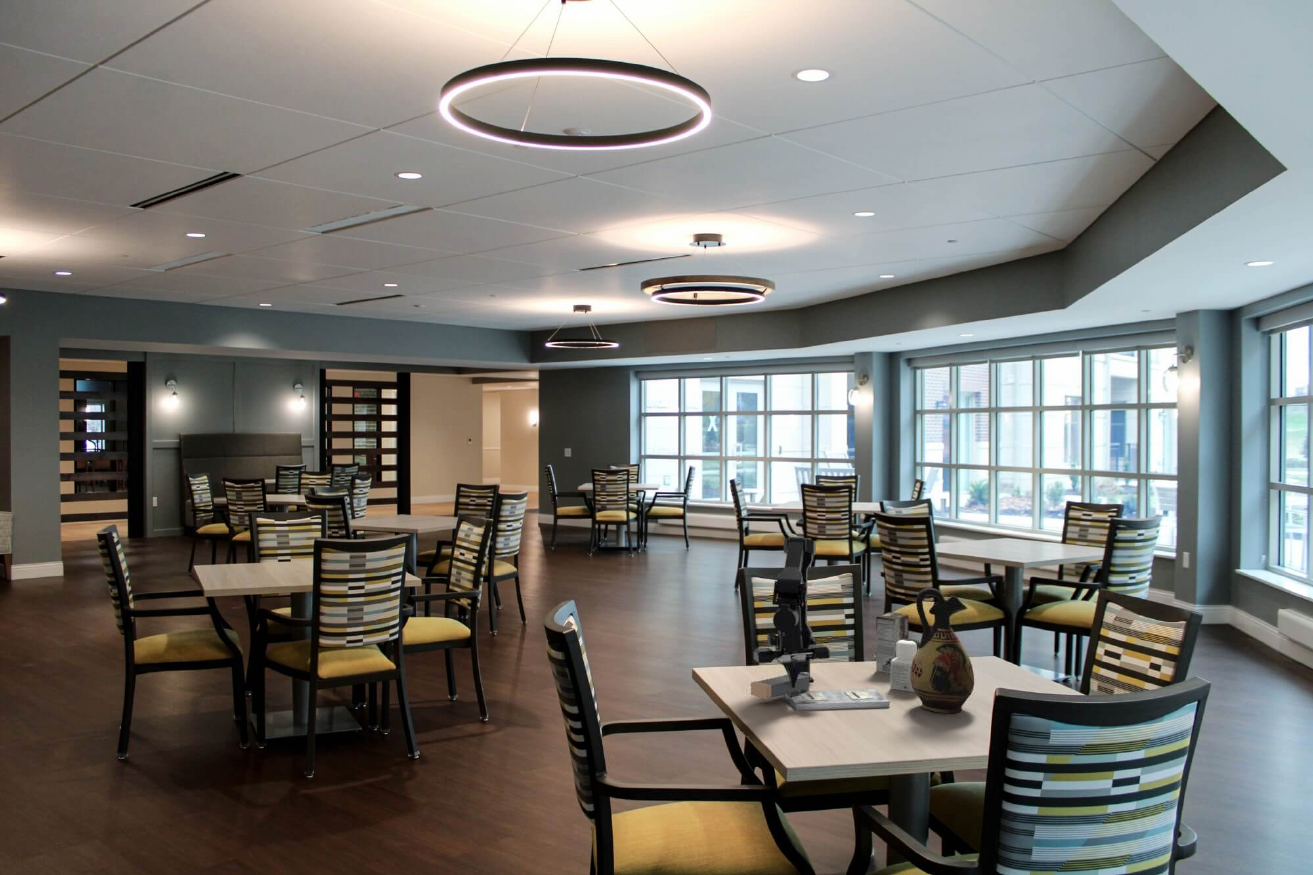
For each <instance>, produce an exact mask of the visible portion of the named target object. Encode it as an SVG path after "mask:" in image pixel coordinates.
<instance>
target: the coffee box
mask: <svg viewBox="0 0 1313 875" xmlns="http://www.w3.org/2000/svg"><path fill="white" fill-rule="evenodd" d="M875 619H876V620H875V622H876V623H875V624H876V625H875V626H876V627H875V628H876V631H875V632H876V633H875V634H876V637H875V638H876V639H875V642H876V643H875V646H876V648H875V649H876V650H875V654H876V655H875V657H876V659H875V660H876V661H875V666H876V667H875V668H876V669H875V670H876V672H880V673H885V674H890V675H891V660H893V659H894V658H896V657H897V656H896V642H897V641H898V640H900V639H909V614H903V613H898V612H892V611H891V612H889V611H888V612H886V613H883V614H880V615H877V616H876V617H875Z"/></svg>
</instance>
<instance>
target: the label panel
mask: <svg viewBox="0 0 1313 875" xmlns="http://www.w3.org/2000/svg"><path fill="white" fill-rule="evenodd" d="M784 699H785V700H787V702H788V703H789V704H790V705H791V706H792V707H793V708H794V709H795V710H796V711H809V710H810V711H811V710H812V711H813V710H814V711H815V710H841V709H842V710H844V709H845V710H846V709H849V710H850V709H874V708H876V709H878V708H879V709H880V708H881V709H882V708H890V707H891V705H890V704H891V702H890V700H888V699H887V698H886V697H885V696H883V695H882V694H880V693H879V692H878V691H876V690H875V689H874V688H870V689H869V688H866V689H861V688H860V689H833V690H829V689H826V690H809V691H800V690H799V691H795V692H791V693H787V694H784Z"/></svg>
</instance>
